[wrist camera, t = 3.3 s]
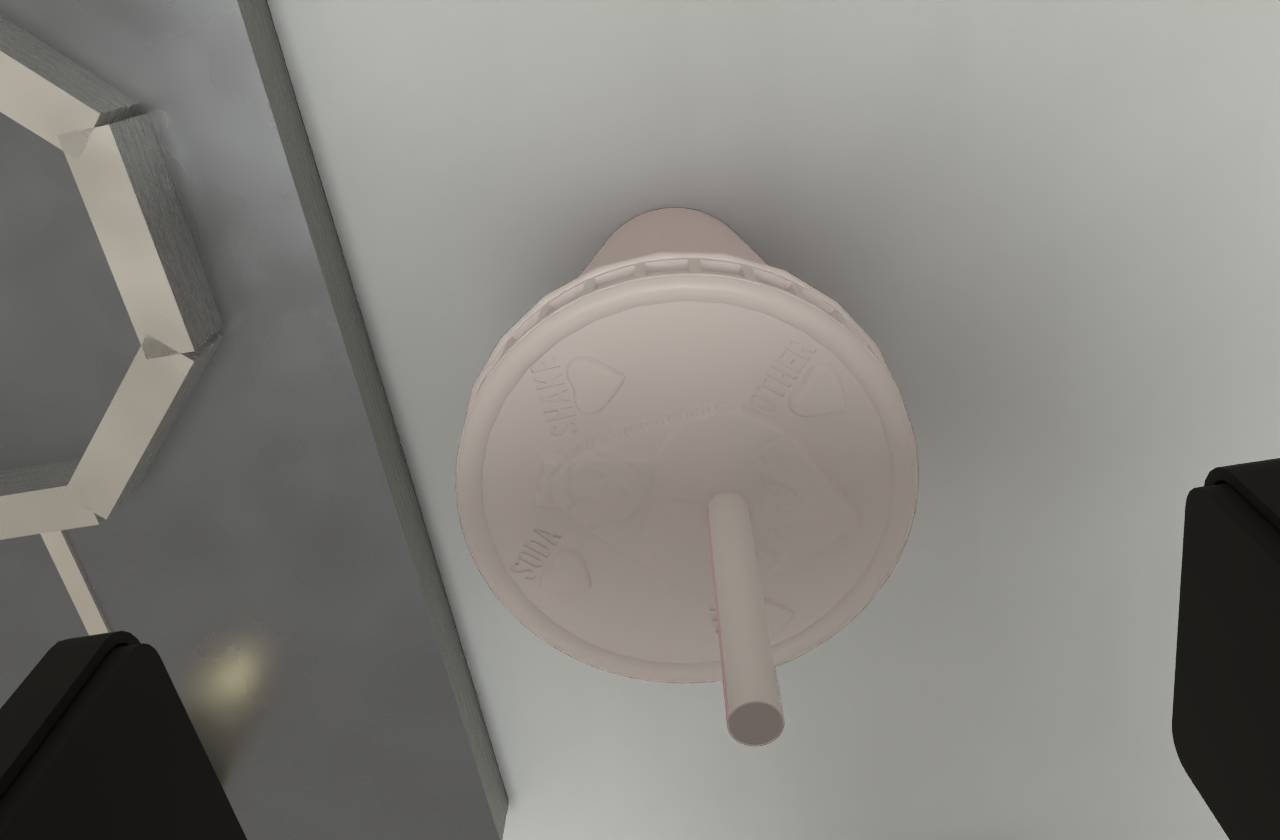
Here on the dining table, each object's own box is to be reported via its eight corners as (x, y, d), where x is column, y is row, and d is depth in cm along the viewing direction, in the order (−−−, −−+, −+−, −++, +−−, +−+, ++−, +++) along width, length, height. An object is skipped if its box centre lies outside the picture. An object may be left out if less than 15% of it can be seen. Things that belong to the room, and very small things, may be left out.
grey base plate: (219, -154, 19) (64, -196, 14) (508, 803, 29) (477, 980, 24) (-538, 6, 20) (-926, 20, 15) (-20, 869, 30) (-154, 1051, 25)
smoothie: (785, 439, 24) (934, 979, 11) (515, 401, 24) (353, 912, 11) (848, 167, 21) (1133, 468, 9) (544, 120, 21) (378, 361, 8)
